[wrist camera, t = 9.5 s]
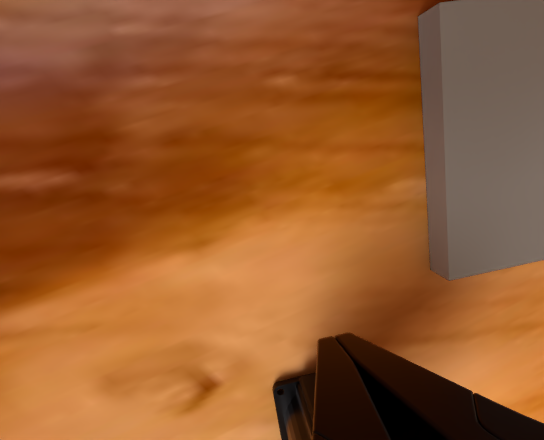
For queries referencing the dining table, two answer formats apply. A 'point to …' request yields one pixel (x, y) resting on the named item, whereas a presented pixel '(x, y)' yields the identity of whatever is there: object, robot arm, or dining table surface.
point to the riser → (483, 134)
